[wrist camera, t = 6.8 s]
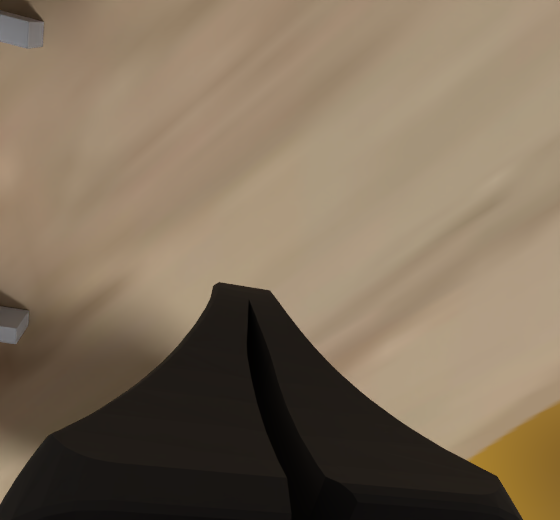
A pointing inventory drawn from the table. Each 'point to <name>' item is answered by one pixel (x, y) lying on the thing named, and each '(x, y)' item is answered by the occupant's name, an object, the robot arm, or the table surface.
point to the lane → (27, 34)
